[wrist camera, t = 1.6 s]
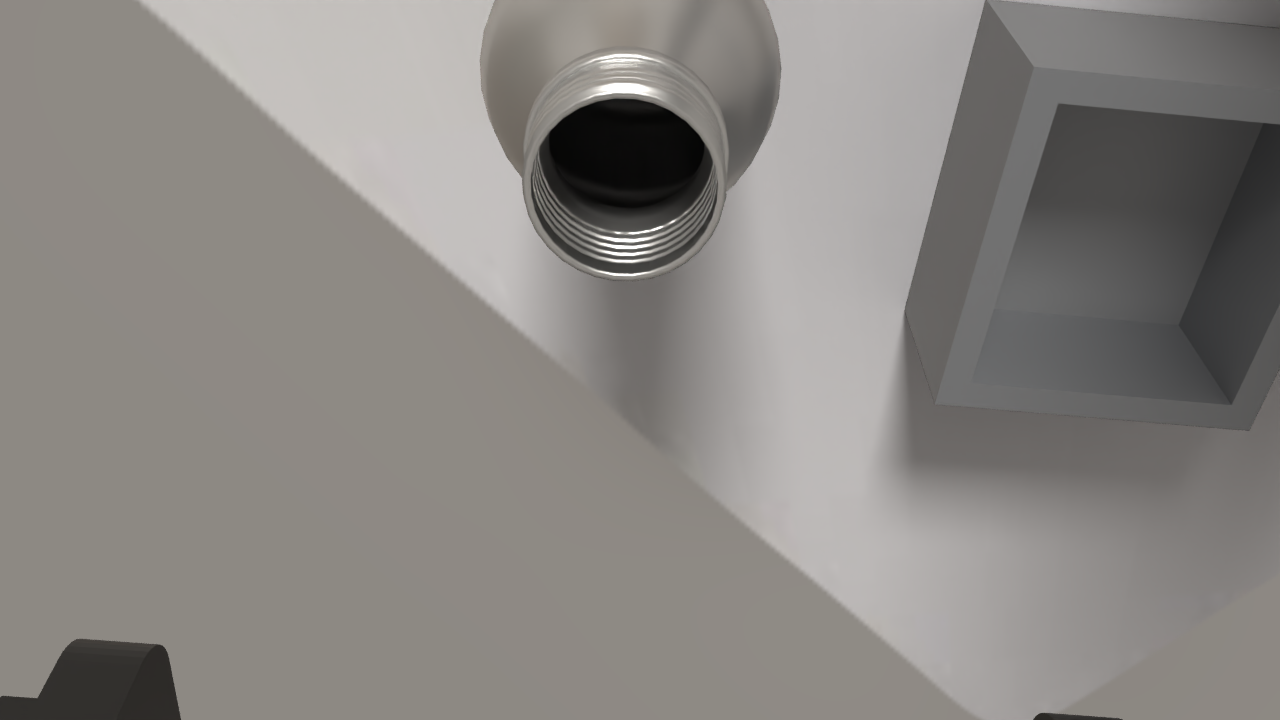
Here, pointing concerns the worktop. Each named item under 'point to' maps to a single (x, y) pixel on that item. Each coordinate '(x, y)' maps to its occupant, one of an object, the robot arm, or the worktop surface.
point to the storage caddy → (1107, 221)
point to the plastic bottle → (629, 120)
